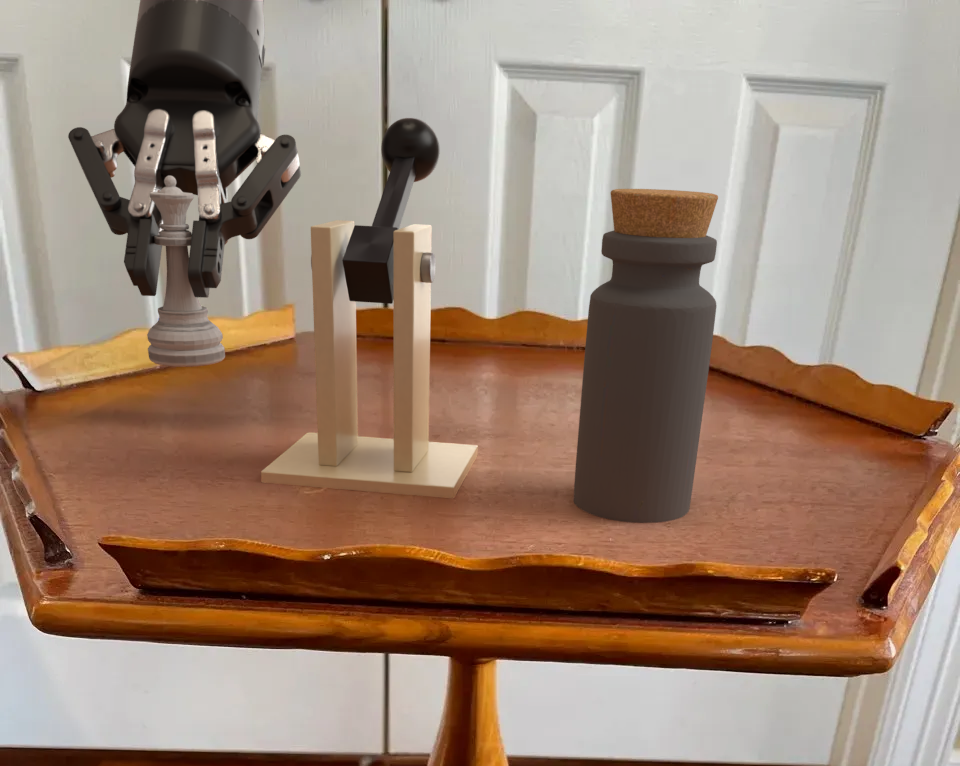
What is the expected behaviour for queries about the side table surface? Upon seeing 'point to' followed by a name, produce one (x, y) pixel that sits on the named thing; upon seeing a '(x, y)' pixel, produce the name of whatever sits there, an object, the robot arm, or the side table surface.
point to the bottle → (647, 359)
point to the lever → (389, 211)
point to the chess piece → (180, 293)
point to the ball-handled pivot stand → (337, 446)
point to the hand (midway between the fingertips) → (171, 286)
